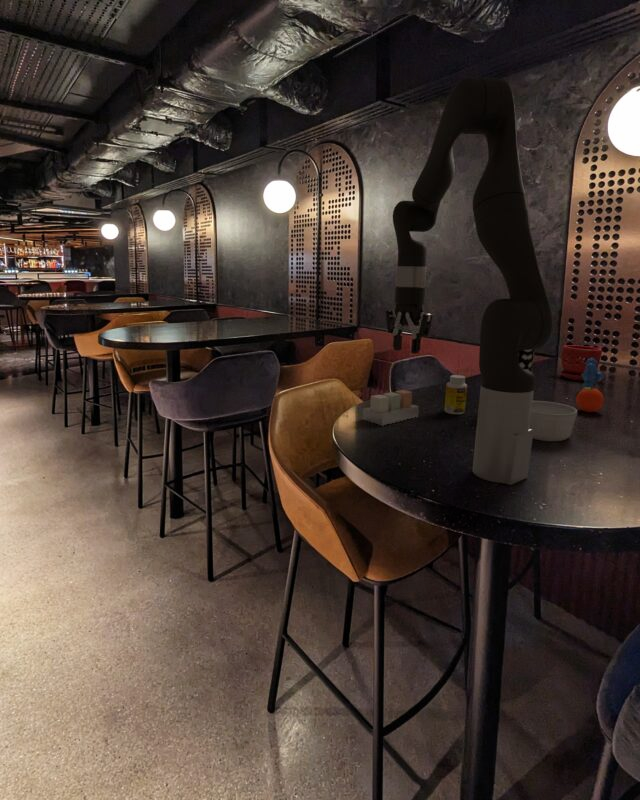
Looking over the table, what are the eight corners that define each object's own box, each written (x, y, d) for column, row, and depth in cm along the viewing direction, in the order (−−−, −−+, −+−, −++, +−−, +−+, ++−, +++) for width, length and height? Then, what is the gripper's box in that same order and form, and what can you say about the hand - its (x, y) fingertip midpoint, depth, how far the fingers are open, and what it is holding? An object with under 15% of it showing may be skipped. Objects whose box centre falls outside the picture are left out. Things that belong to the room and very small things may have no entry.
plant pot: (596, 383, 181) (601, 350, 178) (556, 379, 188) (560, 347, 185) (598, 377, 192) (603, 346, 189) (560, 373, 199) (565, 343, 196)
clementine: (565, 409, 146) (569, 385, 144) (581, 406, 149) (585, 383, 147) (591, 416, 139) (595, 391, 137) (607, 413, 142) (611, 388, 140)
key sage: (399, 409, 132) (400, 394, 131) (391, 411, 130) (392, 396, 129) (390, 406, 135) (391, 392, 134) (382, 408, 133) (383, 393, 132)
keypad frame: (418, 417, 135) (418, 406, 134) (382, 426, 126) (382, 414, 125) (398, 411, 140) (398, 400, 139) (362, 419, 131) (362, 408, 130)
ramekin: (502, 429, 126) (505, 402, 124) (543, 424, 130) (547, 398, 129) (542, 446, 114) (546, 416, 112) (586, 440, 118) (590, 412, 117)
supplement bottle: (455, 416, 136) (458, 379, 134) (439, 411, 141) (442, 375, 138) (469, 413, 139) (472, 377, 137) (453, 408, 144) (456, 373, 141)
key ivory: (387, 412, 129) (388, 397, 128) (379, 414, 127) (379, 398, 126) (378, 409, 132) (379, 394, 131) (370, 411, 130) (370, 396, 129)
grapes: (601, 398, 159) (607, 361, 156) (577, 395, 162) (583, 359, 159) (601, 391, 169) (607, 356, 166) (579, 389, 172) (584, 354, 169)
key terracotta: (411, 406, 135) (412, 392, 134) (403, 408, 133) (404, 393, 132) (402, 404, 137) (403, 389, 136) (394, 405, 135) (395, 391, 134)
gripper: (379, 284, 130) (376, 349, 135) (423, 286, 120) (418, 356, 124) (398, 284, 135) (395, 347, 139) (442, 286, 124) (437, 354, 129)
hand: (406, 351), depth 132 cm, fingers open, 5 cm apart
